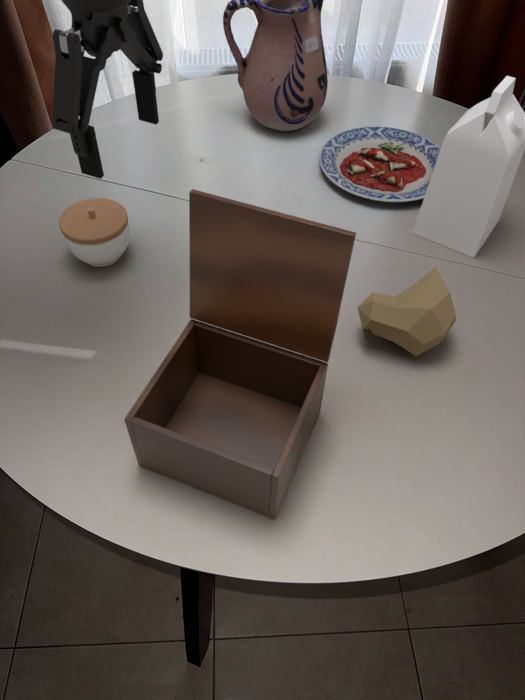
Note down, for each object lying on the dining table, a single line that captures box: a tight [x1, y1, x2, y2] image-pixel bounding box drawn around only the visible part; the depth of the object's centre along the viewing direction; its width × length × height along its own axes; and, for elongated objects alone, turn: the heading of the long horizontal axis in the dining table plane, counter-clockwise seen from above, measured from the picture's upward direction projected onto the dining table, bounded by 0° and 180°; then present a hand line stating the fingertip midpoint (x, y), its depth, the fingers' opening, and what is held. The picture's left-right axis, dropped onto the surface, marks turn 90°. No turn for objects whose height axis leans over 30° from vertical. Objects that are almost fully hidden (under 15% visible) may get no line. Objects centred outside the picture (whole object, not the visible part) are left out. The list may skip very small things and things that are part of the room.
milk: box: [412, 75, 525, 259], centre depth 94 cm, size 12×12×26 cm
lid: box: [188, 188, 357, 363], centre depth 66 cm, size 17×19×1 cm
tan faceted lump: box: [356, 266, 457, 357], centre depth 84 cm, size 15×11×12 cm
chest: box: [123, 318, 329, 521], centre depth 72 cm, size 17×19×11 cm
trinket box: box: [58, 197, 130, 268], centre depth 95 cm, size 11×11×9 cm
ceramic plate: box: [319, 126, 441, 203], centre depth 114 cm, size 26×26×3 cm
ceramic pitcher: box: [222, 0, 329, 132], centre depth 117 cm, size 18×21×25 cm
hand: (122, 146), depth 75 cm, fingers open, 13 cm apart
